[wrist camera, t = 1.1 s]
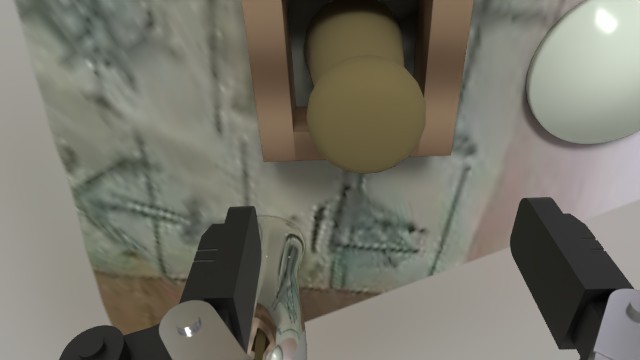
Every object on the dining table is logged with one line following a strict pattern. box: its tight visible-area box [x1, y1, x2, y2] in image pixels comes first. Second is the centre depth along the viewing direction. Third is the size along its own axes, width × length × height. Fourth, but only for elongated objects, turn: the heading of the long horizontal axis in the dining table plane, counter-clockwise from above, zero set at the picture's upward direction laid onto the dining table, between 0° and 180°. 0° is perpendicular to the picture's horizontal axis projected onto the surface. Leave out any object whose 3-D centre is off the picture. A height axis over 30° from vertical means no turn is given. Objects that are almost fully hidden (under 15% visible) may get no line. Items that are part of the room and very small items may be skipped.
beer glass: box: [247, 216, 307, 360], centre depth 30 cm, size 7×7×15 cm
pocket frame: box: [242, 0, 474, 162], centre depth 26 cm, size 12×12×4 cm
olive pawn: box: [304, 0, 426, 174], centre depth 23 cm, size 6×6×11 cm
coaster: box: [526, 0, 640, 144], centre depth 27 cm, size 10×10×1 cm
